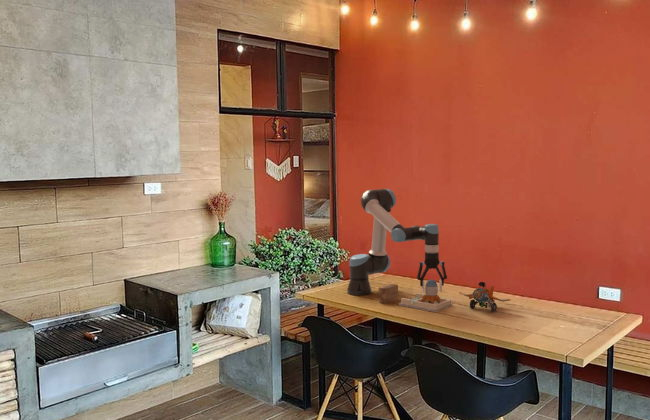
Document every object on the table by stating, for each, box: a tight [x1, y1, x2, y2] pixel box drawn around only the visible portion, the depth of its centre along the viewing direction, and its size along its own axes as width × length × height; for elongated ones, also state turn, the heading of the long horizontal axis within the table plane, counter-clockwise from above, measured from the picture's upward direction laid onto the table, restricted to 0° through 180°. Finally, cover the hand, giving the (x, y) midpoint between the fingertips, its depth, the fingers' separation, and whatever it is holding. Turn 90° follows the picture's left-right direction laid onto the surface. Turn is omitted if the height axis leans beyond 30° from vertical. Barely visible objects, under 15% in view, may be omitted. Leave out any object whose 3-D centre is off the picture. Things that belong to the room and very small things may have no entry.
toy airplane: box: [458, 281, 512, 313], centre depth 318 cm, size 29×23×15 cm
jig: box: [398, 292, 453, 313], centre depth 330 cm, size 24×18×4 cm
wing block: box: [378, 283, 399, 305], centre depth 341 cm, size 5×12×9 cm, turn 137°
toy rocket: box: [422, 279, 441, 304], centre depth 326 cm, size 10×11×15 cm
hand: (432, 291), depth 327 cm, fingers open, 9 cm apart
